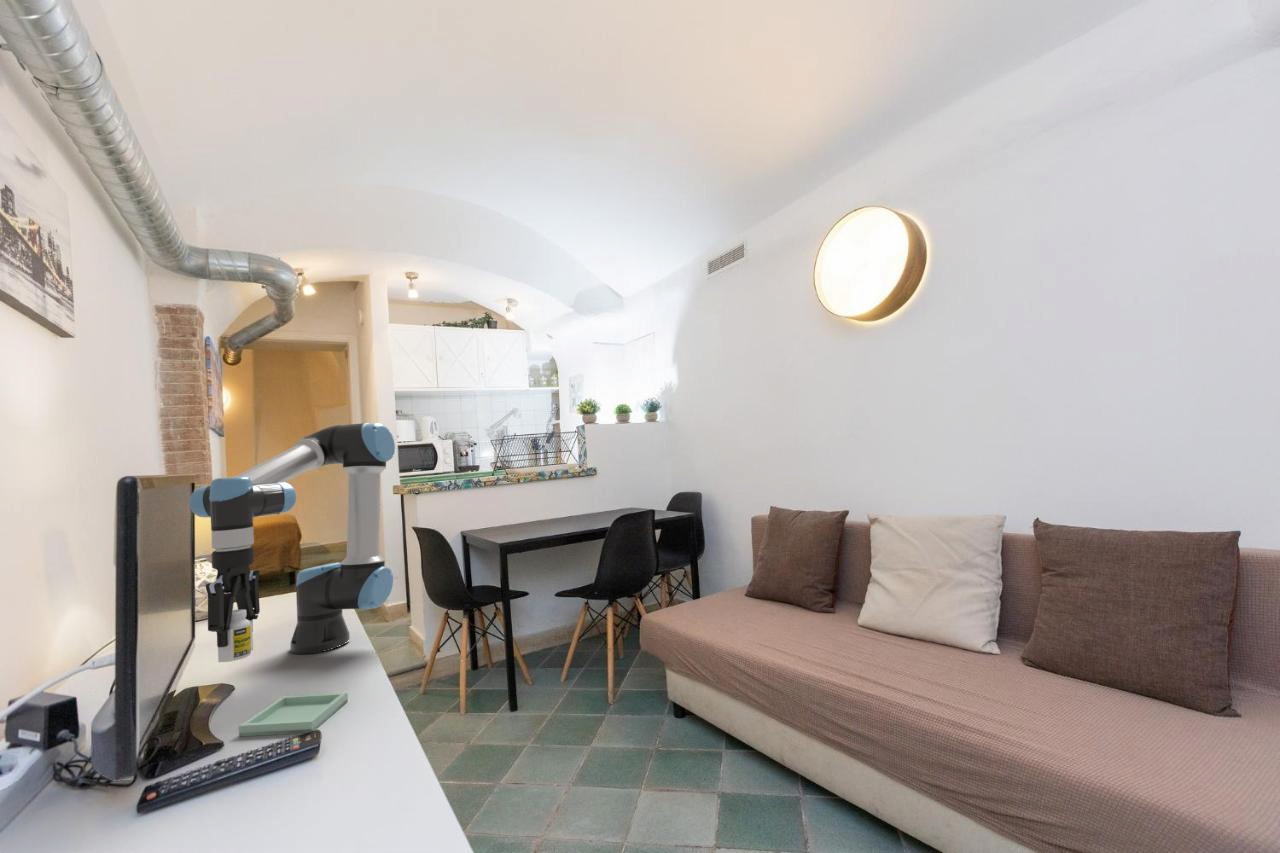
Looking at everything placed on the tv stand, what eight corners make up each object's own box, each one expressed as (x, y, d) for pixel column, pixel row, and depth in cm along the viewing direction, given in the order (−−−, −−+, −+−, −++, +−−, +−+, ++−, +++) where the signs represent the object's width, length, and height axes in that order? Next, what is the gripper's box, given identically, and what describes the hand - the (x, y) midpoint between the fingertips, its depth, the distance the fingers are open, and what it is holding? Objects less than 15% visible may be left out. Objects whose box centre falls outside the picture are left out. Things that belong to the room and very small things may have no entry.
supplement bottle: (235, 662, 120) (233, 615, 121) (214, 661, 121) (212, 615, 122) (257, 653, 126) (256, 608, 126) (236, 652, 127) (235, 608, 127)
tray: (283, 705, 125) (282, 696, 125) (347, 701, 125) (347, 692, 125) (239, 736, 111) (238, 725, 111) (311, 732, 111) (311, 721, 111)
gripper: (244, 542, 134) (247, 642, 133) (182, 557, 115) (185, 673, 114) (276, 540, 134) (279, 640, 133) (220, 555, 115) (223, 671, 114)
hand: (236, 655), depth 124 cm, fingers closed on supplement bottle, 5 cm apart
